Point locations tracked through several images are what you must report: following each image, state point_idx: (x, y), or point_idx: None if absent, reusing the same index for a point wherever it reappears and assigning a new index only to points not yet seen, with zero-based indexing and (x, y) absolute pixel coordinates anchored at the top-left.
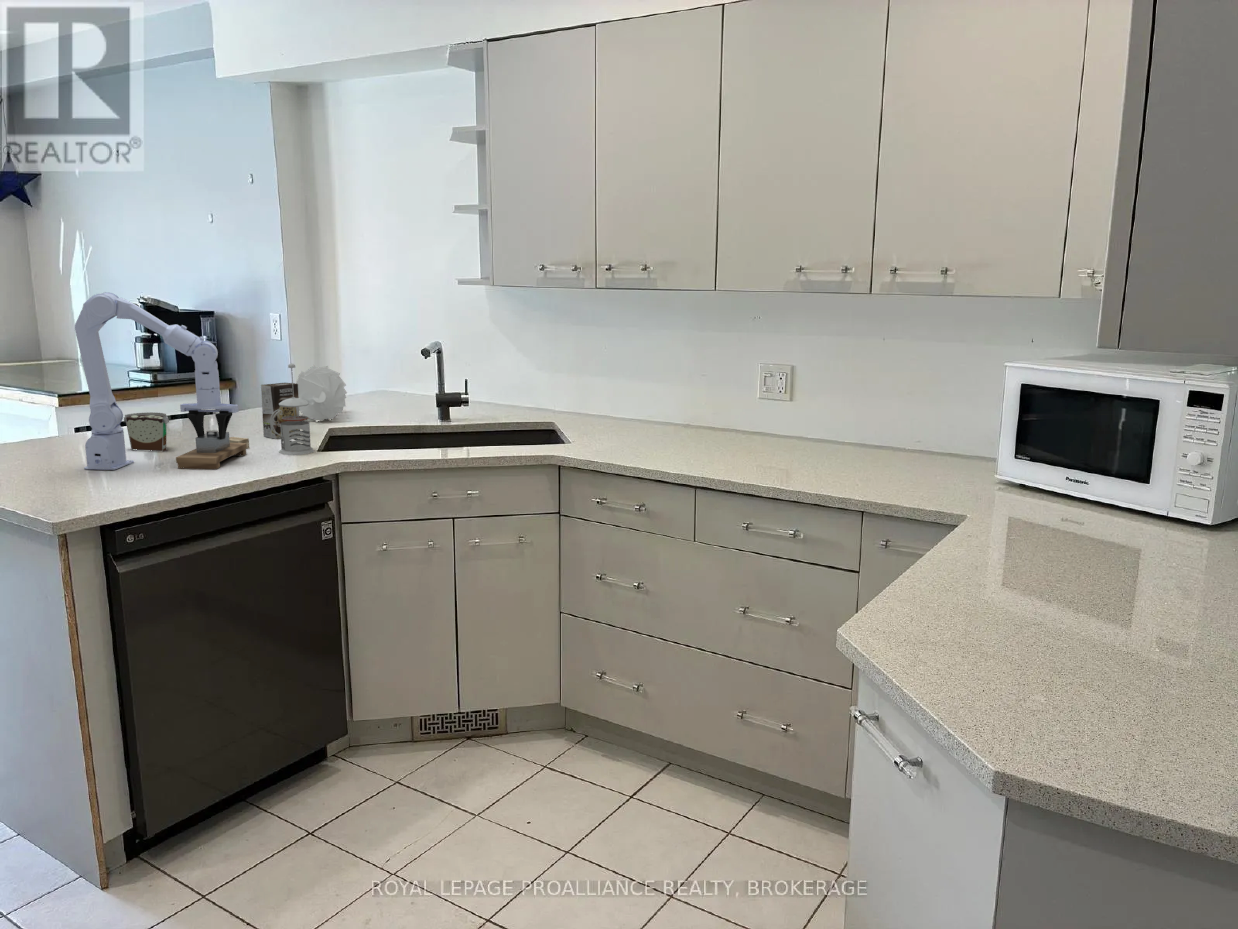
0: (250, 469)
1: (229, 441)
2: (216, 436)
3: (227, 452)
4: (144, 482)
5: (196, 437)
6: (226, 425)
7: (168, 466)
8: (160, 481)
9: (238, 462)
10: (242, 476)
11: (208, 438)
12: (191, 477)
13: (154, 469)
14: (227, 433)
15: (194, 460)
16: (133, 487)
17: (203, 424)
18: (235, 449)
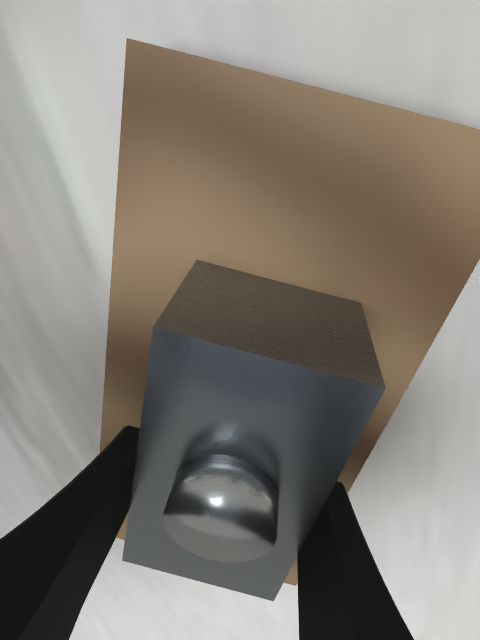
0: (456, 555)
1: (366, 331)
2: (276, 553)
3: (351, 483)
4: (96, 606)
5: (125, 553)
6: (386, 625)
7: (59, 431)
8: (140, 609)
9: (403, 419)
10: (413, 628)
11: (225, 584)
12: (225, 596)
13: (29, 468)
14: (366, 417)
15: None
16: (93, 637)
17: (81, 532)
18: (405, 382)
